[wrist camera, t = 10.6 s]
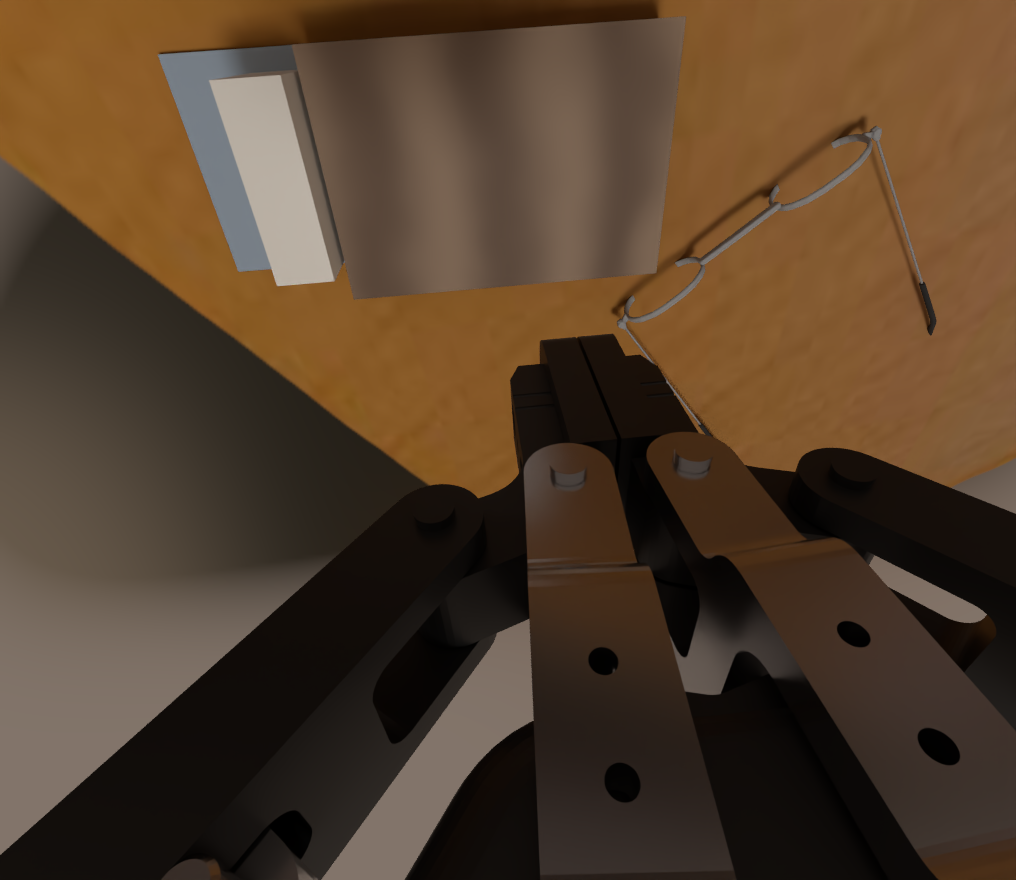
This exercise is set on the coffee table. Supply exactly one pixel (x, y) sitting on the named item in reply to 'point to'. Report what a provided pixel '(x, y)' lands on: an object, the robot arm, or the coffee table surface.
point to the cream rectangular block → (281, 173)
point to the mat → (222, 136)
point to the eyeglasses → (765, 214)
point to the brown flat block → (495, 152)
